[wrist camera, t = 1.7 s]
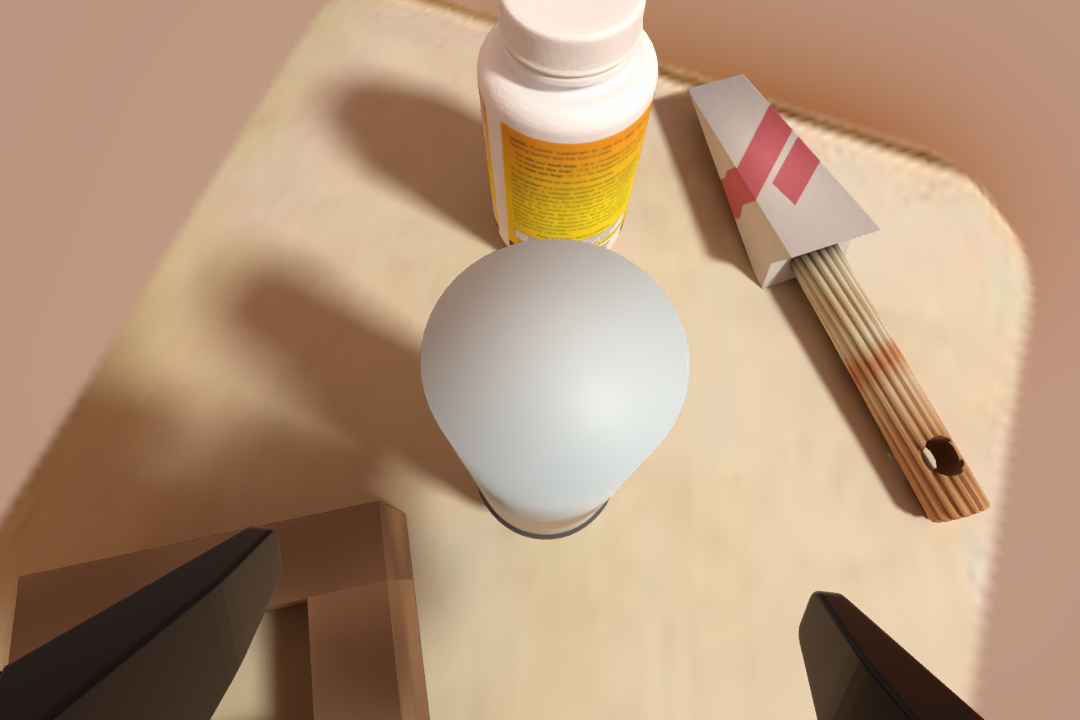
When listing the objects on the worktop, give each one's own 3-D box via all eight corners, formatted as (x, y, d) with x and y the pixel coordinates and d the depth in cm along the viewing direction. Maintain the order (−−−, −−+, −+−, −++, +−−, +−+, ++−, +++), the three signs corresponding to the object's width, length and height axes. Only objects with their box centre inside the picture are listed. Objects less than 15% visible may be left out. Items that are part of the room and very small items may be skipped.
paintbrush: (768, 43, 24) (1040, 493, 18) (744, 93, 26) (974, 500, 20) (686, 62, 23) (937, 532, 17) (670, 111, 26) (883, 535, 20)
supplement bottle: (646, 242, 24) (721, 16, 14) (531, 296, 23) (528, 92, 13) (582, 151, 25) (609, -105, 16) (472, 197, 24) (432, -46, 15)
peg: (615, 531, 19) (736, 461, 8) (497, 557, 19) (434, 527, 7) (586, 417, 21) (651, 213, 9) (476, 439, 20) (397, 258, 9)
